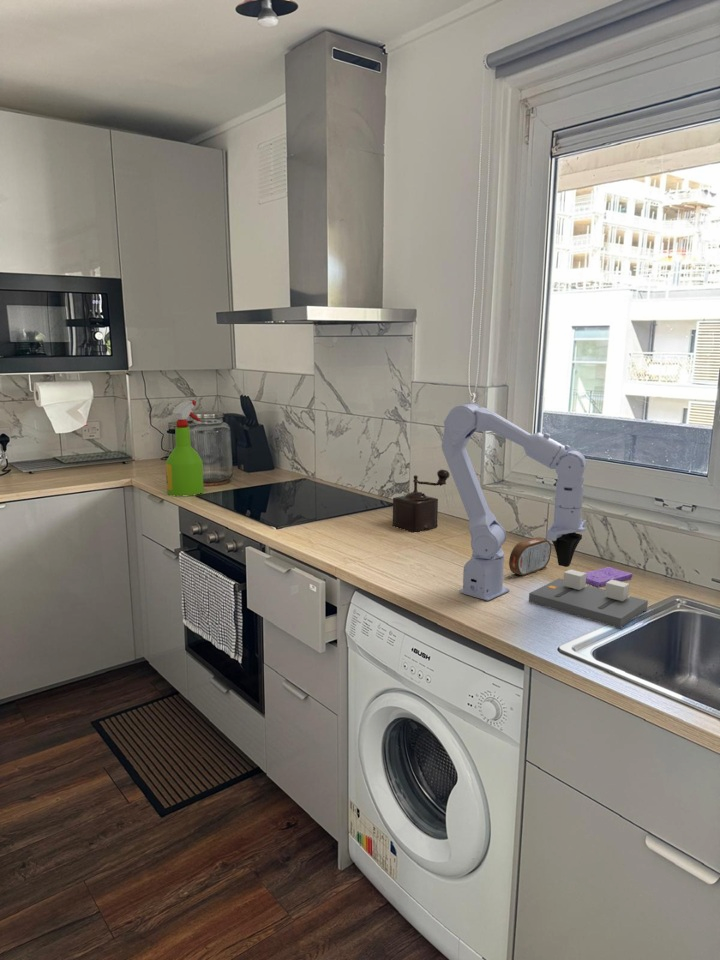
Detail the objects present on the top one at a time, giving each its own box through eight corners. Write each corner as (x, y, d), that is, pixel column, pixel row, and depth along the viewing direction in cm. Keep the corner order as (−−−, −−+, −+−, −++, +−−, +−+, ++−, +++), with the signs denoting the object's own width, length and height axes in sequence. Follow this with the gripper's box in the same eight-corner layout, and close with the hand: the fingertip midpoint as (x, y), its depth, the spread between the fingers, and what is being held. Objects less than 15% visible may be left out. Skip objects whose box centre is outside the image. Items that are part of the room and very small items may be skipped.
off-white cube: (579, 589, 157) (580, 576, 156) (563, 585, 159) (563, 572, 159) (585, 586, 159) (586, 573, 158) (569, 582, 162) (570, 569, 161)
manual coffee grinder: (416, 533, 211) (417, 475, 208) (391, 526, 219) (392, 470, 216) (450, 525, 221) (452, 469, 217) (425, 518, 229) (427, 465, 226)
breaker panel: (620, 627, 142) (621, 618, 141) (528, 601, 156) (529, 592, 155) (647, 609, 152) (647, 600, 151) (558, 586, 166) (559, 577, 165)
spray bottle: (217, 488, 274) (214, 400, 267) (189, 498, 258) (185, 403, 251) (189, 485, 279) (185, 398, 272) (159, 494, 263) (155, 402, 256)
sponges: (575, 581, 171) (576, 573, 171) (608, 572, 178) (609, 565, 177) (598, 589, 165) (599, 582, 165) (632, 580, 172) (633, 573, 171)
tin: (542, 564, 182) (544, 533, 181) (552, 567, 180) (554, 536, 178) (507, 576, 173) (508, 544, 171) (517, 579, 170) (519, 546, 169)
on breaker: (622, 601, 150) (623, 587, 149) (604, 596, 153) (605, 582, 152) (628, 597, 152) (629, 583, 151) (610, 593, 155) (611, 579, 154)
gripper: (569, 514, 143) (565, 577, 146) (600, 503, 154) (595, 562, 156) (538, 508, 148) (535, 569, 151) (570, 498, 159) (566, 555, 161)
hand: (564, 565), depth 154 cm, fingers closed
